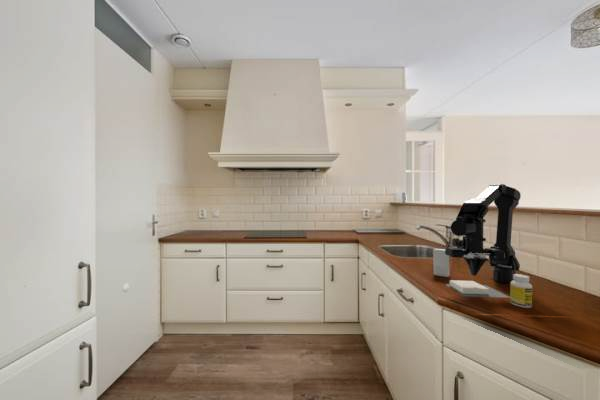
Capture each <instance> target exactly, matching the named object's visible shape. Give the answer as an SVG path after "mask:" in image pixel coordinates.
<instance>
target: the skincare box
mask: <svg viewBox="0 0 600 400" xmlns="http://www.w3.org/2000/svg"><path fill="white" fill-rule="evenodd" d="M445 250H446V248H445V249H443V248H434V249H432V255H433V256H432V258H433V259H432V261H433V263H432V264H433V275H434V276H438V277H439V276H440V277H446V278H449V277H450V256H448V255H446V254H445Z"/></svg>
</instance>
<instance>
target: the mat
mask: <svg viewBox="0 0 600 400" xmlns="http://www.w3.org/2000/svg"><path fill="white" fill-rule="evenodd" d="M481 285H482V286H484V287H486V288H488V289H489V294H488V295H478V294H462V293H461V292H459V291H457V290H456V289H454V288H453V287H451V286H450V283H445V286H447V287H448V288H450V289H452V290H453V291H455V292H456V293H458V294H460V295H461V296H462V297H468V298H470V297H472V298H473V297H474V298H475V297H476V298H503V299H505V298H508V299H510V296H508V295H506V294H505V293H504V292H501V291H499V290H496V289H495V288H493V287H490V286H488V285H487V284H481Z"/></svg>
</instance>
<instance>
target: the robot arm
mask: <svg viewBox="0 0 600 400" xmlns="http://www.w3.org/2000/svg"><path fill="white" fill-rule="evenodd" d="M520 200H521V191H519V190H518V189H517V188H514V187H511V186H507V185H506V184H503V183H495V184H494V183H492V184H491V183H490V184H488V187H487V188H486V189H485V190H484V191H482V192H481V193H480V194H479V195H478V196H476V197H475V198H471V199H468V200H466V201H464V202H463V203H462V205H461V207H460V209H459V211H458V213H457V216H456V217H455V220H453V221H452V223H451V224H450V231H451V233H452V234H453V235H455V236H457V237H461V236H462V240H461V239H460V238H456V237H455V238H452V239H451V245H452V247H446V248H445V249H446V250H445V254H446V255H448V256H449V257H452V258H458V259H459V258H462V259H464V260H465V262H466V263H467V265H468V268H469V270H470V273H471V276H473V277H474V276H477V275H478V274H479V271H480V270H481V268H482V267H483V266H484V264H485V263H486V262H487V261H488V262H489V265H490V267H493V268H494V269H493V272H492V273H493V274H492V275H493V276H492V278H491V280H492V281H495V282H497V283H499V284H500V285H501V284H502V285H510V283H511V281H513V280H514V279H513V275H514V274H516V271H517V272H518V271H519V272H520V268H521V267H520V266H521V264H520V261H519V260H518V259H517V256H516V251H515V249H514V248H513V246H512V244H511V243H512V240H511V239H512V229H513V227H512V226H513V213H514V210H515V209H516V208H517V207H518V206H519V203H520ZM492 203H494V204H495V206H496V208H497V209H498V210H497V211H498V212H497V224H496V237H495V238H496V239H495V243H494V244H493V245H491V246H490V247H489V248H488V247H486V248H485V247H484V242H486V241H487V240H486V237H484V223H486V222H487V221H486V220H485V216H486V215H487V214H488V212H489V206H491V204H492ZM487 256H488V258H487Z"/></svg>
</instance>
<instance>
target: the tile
mask: <svg viewBox="0 0 600 400" xmlns="http://www.w3.org/2000/svg"><path fill="white" fill-rule="evenodd" d="M449 284H450V286H451V287H453V288H454V289H456V290H457V291H459V292H461V293H462V294H478V295H488V294H489V289H488V288H486V287H484V286H482V285H483V284H481V283H478V282H476V281H475V280H458V279H457V280H455V279H454V280H453V279H450V280H449Z"/></svg>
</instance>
